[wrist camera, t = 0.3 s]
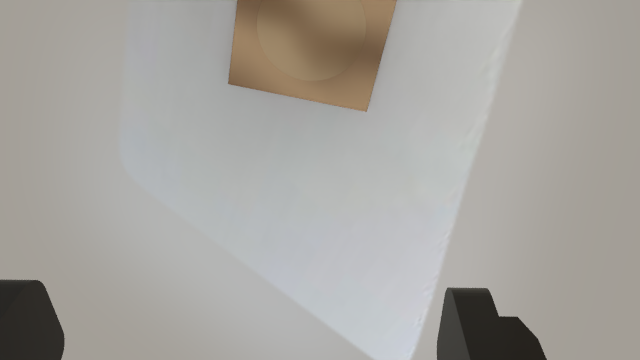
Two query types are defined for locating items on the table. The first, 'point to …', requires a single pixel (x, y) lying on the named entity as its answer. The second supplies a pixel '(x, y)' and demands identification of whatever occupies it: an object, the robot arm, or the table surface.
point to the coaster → (311, 48)
